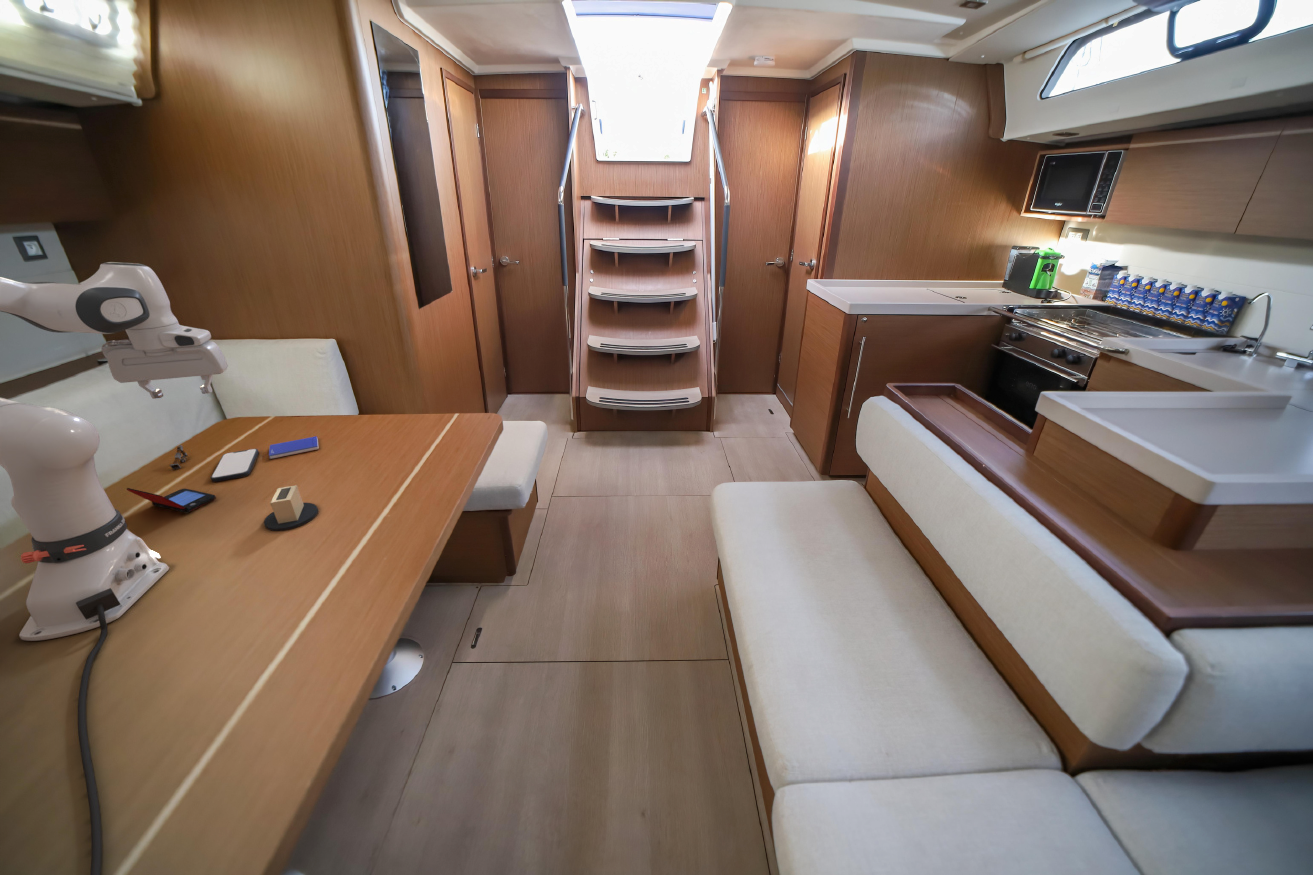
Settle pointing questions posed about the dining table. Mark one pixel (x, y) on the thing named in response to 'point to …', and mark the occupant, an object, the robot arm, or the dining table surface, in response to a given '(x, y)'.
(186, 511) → the handheld console
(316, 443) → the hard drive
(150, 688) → the dining table surface
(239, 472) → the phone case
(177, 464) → the grey jointed piece
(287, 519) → the beige block
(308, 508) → the mat
